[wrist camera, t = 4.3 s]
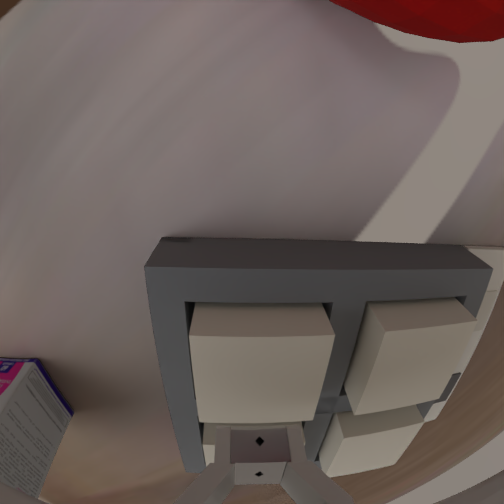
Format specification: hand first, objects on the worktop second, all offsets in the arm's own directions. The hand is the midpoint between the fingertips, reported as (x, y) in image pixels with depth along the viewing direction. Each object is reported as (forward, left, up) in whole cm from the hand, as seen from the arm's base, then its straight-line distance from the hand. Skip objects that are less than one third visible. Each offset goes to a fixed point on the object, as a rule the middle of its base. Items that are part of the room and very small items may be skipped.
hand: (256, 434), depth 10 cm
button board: (+3, +6, -6) cm, 9 cm away
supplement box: (+7, -16, -7) cm, 19 cm away
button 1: (+6, +7, -4) cm, 10 cm away
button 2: (-1, +7, -4) cm, 8 cm away
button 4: (-1, 0, -4) cm, 4 cm away
